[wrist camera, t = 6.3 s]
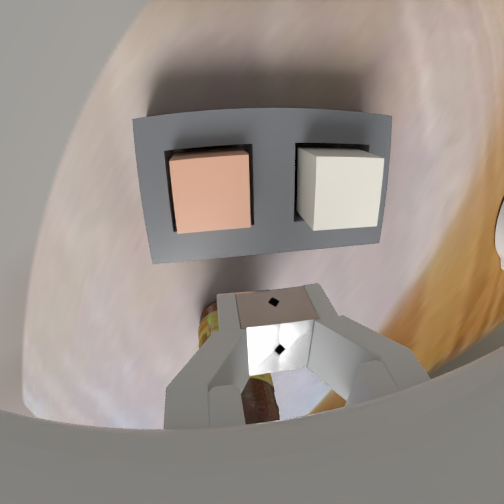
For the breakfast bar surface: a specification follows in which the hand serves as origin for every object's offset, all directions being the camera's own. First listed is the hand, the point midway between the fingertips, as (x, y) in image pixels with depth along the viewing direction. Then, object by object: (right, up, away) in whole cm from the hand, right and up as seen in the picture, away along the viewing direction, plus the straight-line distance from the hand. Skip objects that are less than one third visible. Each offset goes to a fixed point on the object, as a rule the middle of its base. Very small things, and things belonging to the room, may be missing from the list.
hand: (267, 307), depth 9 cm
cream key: (+5, +7, +14) cm, 17 cm away
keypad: (0, +9, +17) cm, 19 cm away
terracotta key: (-4, +7, +14) cm, 16 cm away
